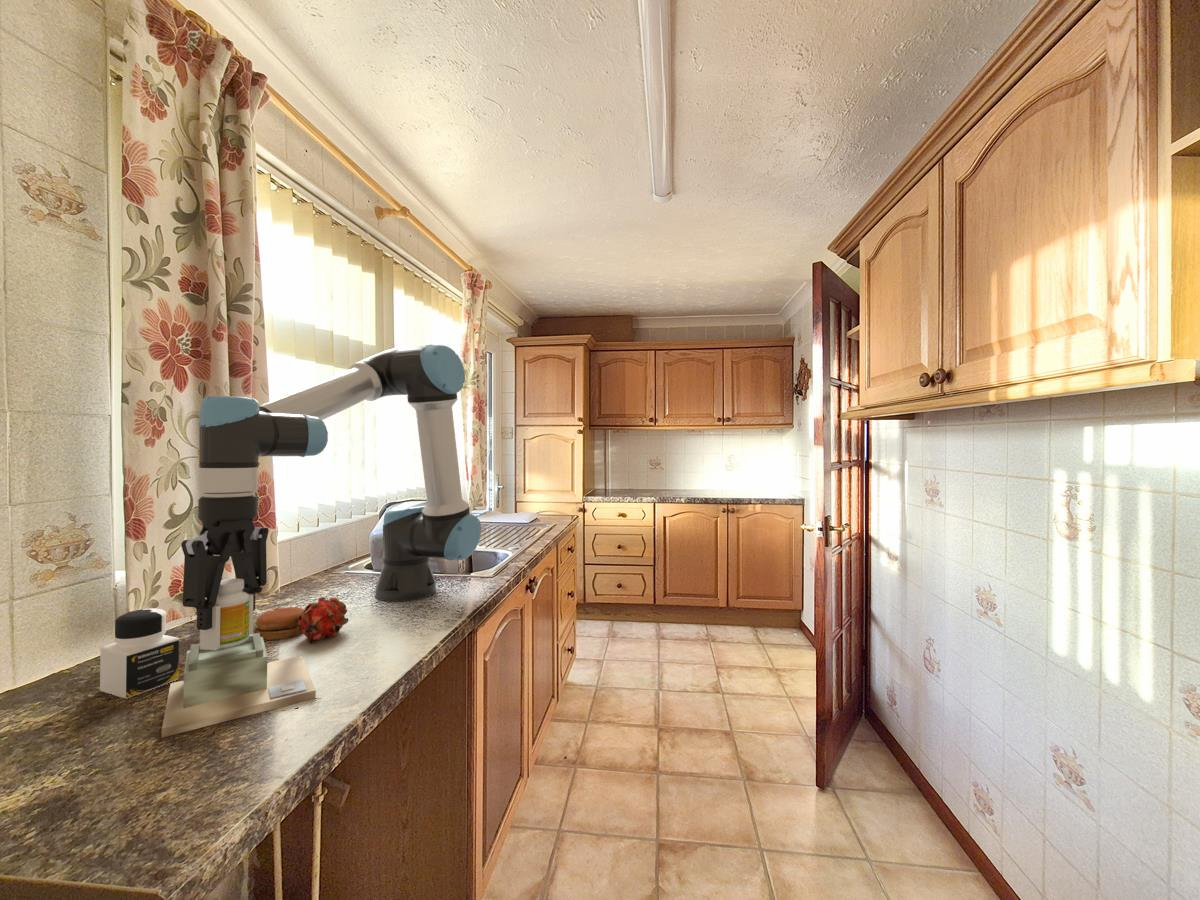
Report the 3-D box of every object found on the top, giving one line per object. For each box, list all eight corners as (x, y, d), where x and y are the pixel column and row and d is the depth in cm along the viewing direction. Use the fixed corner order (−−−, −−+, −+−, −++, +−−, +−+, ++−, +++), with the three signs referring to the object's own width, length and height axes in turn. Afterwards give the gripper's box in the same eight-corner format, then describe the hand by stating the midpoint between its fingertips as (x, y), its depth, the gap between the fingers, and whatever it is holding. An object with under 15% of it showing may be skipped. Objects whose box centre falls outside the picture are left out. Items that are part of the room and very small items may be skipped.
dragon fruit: (339, 632, 108) (314, 664, 97) (304, 612, 107) (275, 641, 95) (362, 602, 108) (340, 630, 96) (328, 581, 106) (301, 607, 95)
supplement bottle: (252, 642, 78) (253, 581, 78) (209, 652, 74) (210, 588, 74) (244, 633, 82) (245, 575, 82) (203, 642, 78) (204, 581, 78)
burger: (284, 643, 99) (284, 619, 99) (242, 640, 100) (243, 617, 100) (318, 626, 109) (319, 604, 109) (280, 623, 110) (280, 602, 110)
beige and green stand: (301, 662, 90) (302, 622, 90) (315, 697, 77) (316, 651, 77) (170, 690, 79) (171, 645, 79) (161, 737, 66) (162, 683, 66)
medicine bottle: (126, 700, 76) (127, 621, 76) (98, 691, 78) (99, 615, 78) (179, 680, 82) (180, 608, 82) (152, 673, 85) (153, 603, 85)
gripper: (255, 489, 88) (253, 619, 88) (148, 499, 70) (146, 664, 70) (293, 490, 87) (292, 622, 87) (195, 501, 69) (193, 668, 69)
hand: (227, 640), depth 78 cm, fingers closed on supplement bottle, 5 cm apart
